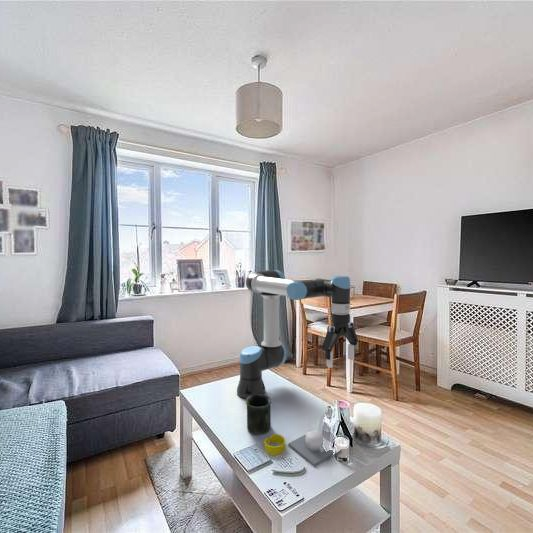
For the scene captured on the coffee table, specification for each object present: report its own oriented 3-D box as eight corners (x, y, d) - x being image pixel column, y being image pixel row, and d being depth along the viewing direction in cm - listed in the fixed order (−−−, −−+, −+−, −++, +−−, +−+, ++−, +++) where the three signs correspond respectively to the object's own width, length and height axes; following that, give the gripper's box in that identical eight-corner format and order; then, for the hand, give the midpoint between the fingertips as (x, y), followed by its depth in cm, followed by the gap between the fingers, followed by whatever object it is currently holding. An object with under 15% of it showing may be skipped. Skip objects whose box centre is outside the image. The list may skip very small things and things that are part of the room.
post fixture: (288, 445, 114) (288, 433, 114) (314, 432, 123) (314, 420, 122) (314, 466, 103) (314, 453, 103) (340, 450, 111) (341, 437, 111)
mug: (249, 438, 119) (249, 409, 119) (242, 418, 133) (241, 392, 133) (275, 433, 122) (274, 405, 122) (265, 414, 136) (264, 389, 136)
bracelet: (289, 449, 113) (289, 440, 113) (273, 458, 108) (273, 450, 107) (276, 439, 118) (276, 431, 118) (260, 448, 113) (260, 440, 113)
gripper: (326, 318, 113) (326, 373, 114) (366, 310, 128) (366, 359, 129) (312, 315, 119) (312, 367, 120) (352, 308, 134) (352, 354, 135)
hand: (340, 363), depth 124 cm, fingers open, 13 cm apart
